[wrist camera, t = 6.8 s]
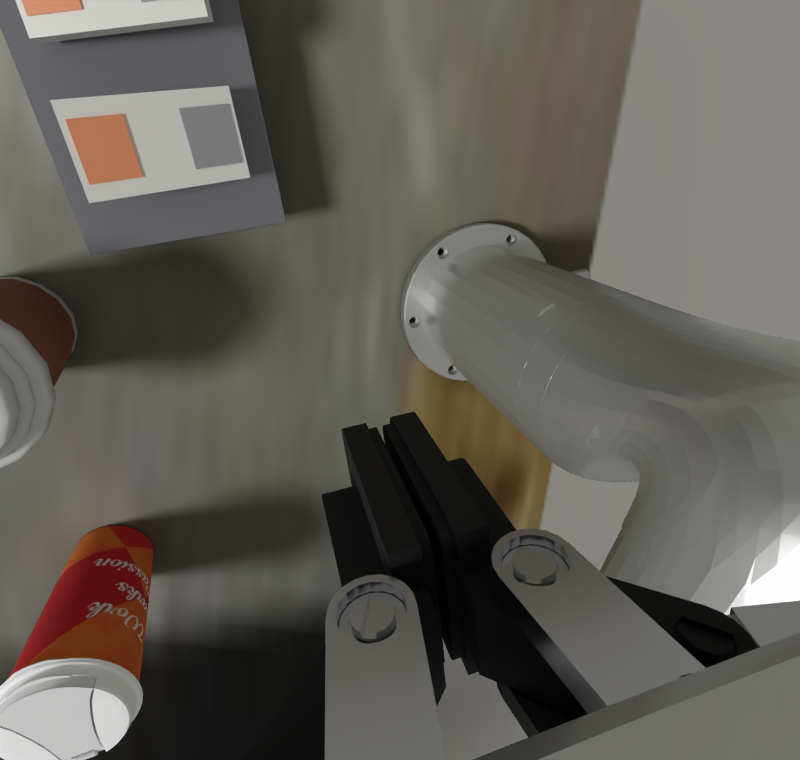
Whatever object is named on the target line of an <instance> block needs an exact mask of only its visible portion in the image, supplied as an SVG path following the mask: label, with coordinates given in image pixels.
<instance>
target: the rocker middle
mask: <svg viewBox="0 0 800 760" xmlns="http://www.w3.org/2000/svg"><path fill="white" fill-rule="evenodd" d="M15 1H16V4H17V6H18V9H19V12H20V14H21V17H22V20H23V22H24V25H25V28H26V30H27V33H28V36H29V38H30V39H33V40H36V41H39V42H42V43H48V42H56V41H64V40H72V39H80V38H88V37H96V36H104V35H112V34H120V33H128V32H136V31H144V30H152V29H160V28H168V27H176V26H184V25H192V24H200V23H208V22H214V20H213V16H212V12H211V8H210V3H209V0H15Z"/></svg>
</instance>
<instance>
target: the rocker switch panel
mask: <svg viewBox="0 0 800 760" xmlns="http://www.w3.org/2000/svg"><path fill="white" fill-rule="evenodd" d="M209 3H210V8H211V12H212V16H213V20H214V22H208V23H200V24H192V25H184V26H176V27H168V28H160V29H152V30H144V31H136V32H128V33H120V34H112V35H104V36H96V37H88V38H80V39H72V40H64V41H56V42H48V43H42V42H39V41H36V40H33V39H30V38H29V36H28V33H27V30H26V28H25V25H24V22H23V20H22V17H21V14H20V12H19V9H18V6H17V4H16V1H15V0H0V27H1V29H2V32H3V35H4V37H5V40H6V42H7V45H8V47H9V50H10V52H11V55H12V57H13V60H14V62H15V65H16V67H17V70H18V72H19V75H20V77H21V80H22V82H23V85H24V88H25V90H26V93H27V95H28V98H29V100H30V103H31V105H32V108H33V110H34V113H35V115H36V118H37V120H38V123H39V125H40V128H41V130H42V133H43V135H44V138H45V140H46V143H47V146H48V148H49V151H50V153H51V156H52V158H53V161H54V163H55V166H56V168H57V171H58V173H59V176H60V178H61V181H62V183H63V186H64V188H65V191H66V193H67V196H68V199H69V201H70V204H71V206H72V209H73V211H74V214H75V216H76V219H77V221H78V224H79V226H80V229H81V231H82V234H83V236H84V239H85V241H86V244H87V246H88V249H89V252H90V254H91V255H93V254H98V253H104V252H110V251H116V250H122V249H128V248H134V247H140V246H146V245H152V244H158V243H164V242H170V241H176V240H182V239H188V238H194V237H200V236H206V235H212V234H217V233H223V232H229V231H235V230H241V229H247V228H253V227H259V226H265V225H271V224H277V223H283V222H286V220H285V215H284V210H283V206H282V201H281V196H280V192H279V187H278V182H277V178H276V173H275V169H274V164H273V159H272V155H271V150H270V145H269V141H268V136H267V132H266V127H265V122H264V118H263V113H262V108H261V104H260V99H259V95H258V90H257V85H256V81H255V76H254V71H253V67H252V62H251V58H250V53H249V48H248V44H247V39H246V34H245V30H244V25H243V21H242V16H241V11H240V7H239V2H238V0H209ZM217 86H229V90H230V94H231V98H232V102H233V107H234V111H235V115H236V119H237V123H238V128H239V132H240V136H241V140H242V144H243V149H244V153H245V157H246V161H247V165H248V170H249V174H250V178H244V179H238V180H232V181H225V182H219V183H213V184H207V185H200V186H194V187H188V188H182V189H175V190H169V191H163V192H157V193H150V194H144V195H138V196H132V197H125V198H119V199H113V200H107V201H100V202H94V203H89V202H88V199H87V196H86V194H85V191H84V188H83V186H82V183H81V181H80V178H79V175H78V173H77V170H76V167H75V165H74V162H73V160H72V157H71V154H70V152H69V149H68V146H67V144H66V141H65V138H64V136H63V133H62V131H61V128H60V125H59V123H58V120H57V117H56V115H55V112H54V110H53V107H52V104H51V102H50V100H57V99H69V98H81V97H94V96H106V95H118V94H131V93H143V92H155V91H167V90H180V89H192V88H204V87H217Z"/></svg>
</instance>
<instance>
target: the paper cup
mask: <svg viewBox="0 0 800 760" xmlns="http://www.w3.org/2000/svg"><path fill="white" fill-rule="evenodd" d="M152 564H153V547H152V543H151V541H150V540H149V538H148V537H147V536H146V535H145V534H144V533H142V532H141V531H139V530H137V529H135V528H132V527H129V526H124V525H108V526H103V527H100V528H97V529H94V530H92V531H91V532H89V533H87V534H86V535H85V536H84V537H83V538H82V539H81V540H80V541H79V543H78V544H77V546H76V547H75V549H74V551H73V553H72V555H71V556H70V558H69V560H68V562H67V564H66V566H65V568H64V570H63V572H62V574H61V576H60V577H59V579H58V581H57V583H56V585H55V587H54V589H53V591H52V593H51V595H50V597H49V599H48V601H47V603H46V605H45V607H44V609H43V611H42V613H41V615H40V617H39V619H38V621H37V623H36V625H35V627H34V629H33V631H32V633H31V635H30V637H29V639H28V641H27V642H26V644H25V646H24V648H23V650H22V652H21V654H20V656H19V658H18V660H17V662H16V664H15V666H14V668H13V670H12V672H11V674H10V676H9V678H8V680H7V681H6V682H5V683H4V684H2V685H1V686H0V757H1V758H3V759H4V760H85V759H88V758H91V757H93V756H96V755H98V751H101V750H103V749H105V750H106V752H107V751H108V750H110V749H111V748H112V747H114V746H115V745H116V744H117V743H118V742H119V741H120V740H121V739H122V737H123V736H124V735H125V733H126V732H127V730H128V728H129V726H130V724H131V722H132V721H133V720H134V718H135V717H136V716H137V714H138V712H139V710H140V708H141V705H142V701H143V692H142V687H141V685H140V683H139V679H140V670H141V662H142V653H143V645H144V636H145V628H146V619H147V611H148V602H149V593H150V584H151V574H152ZM74 757H75V758H74Z"/></svg>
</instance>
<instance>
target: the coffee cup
mask: <svg viewBox="0 0 800 760" xmlns="http://www.w3.org/2000/svg"><path fill="white" fill-rule="evenodd" d="M77 335H78V330H77V326H76V322H75V318H74V314H73V313H72V311H71V310H70V309H69V307H68V306H67V305H66V303H65V302H64V301H63V299H62V298H61V297H60V296H59V295H57V294H56V293H54V292H53V291H51V290H50V289H48V288H47V287H45V286H44V285H42V284H41V283H37V282H34V281H31V280H27V279H24V278H21V277H17V276H11V277H0V468H2V467H4V466H6V465H9V464H11V463H13V462H15V461H17V460H19V459H22V458H23V457H24V456H25V455H26V454H27V453H28V451H29V450H30V449H31V448H32V447H33V446H34V445H35V444H36V443H37V442H38V440H39V439H40V438H41V437H42V436H43V435H44V434H45V432H46V431H47V430H48V428H49V425H50V421H51V417H52V413H53V409H54V404H55V400H56V394H55V390H54V386H55V384H56V382H57V380H58V378H59V376H60V374H61V372H62V370H63V368H64V366H65V364H66V362H67V360H68V359H69V357H70V355H71V353H72V352H73V351H74V348H75V344H76V339H77Z"/></svg>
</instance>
